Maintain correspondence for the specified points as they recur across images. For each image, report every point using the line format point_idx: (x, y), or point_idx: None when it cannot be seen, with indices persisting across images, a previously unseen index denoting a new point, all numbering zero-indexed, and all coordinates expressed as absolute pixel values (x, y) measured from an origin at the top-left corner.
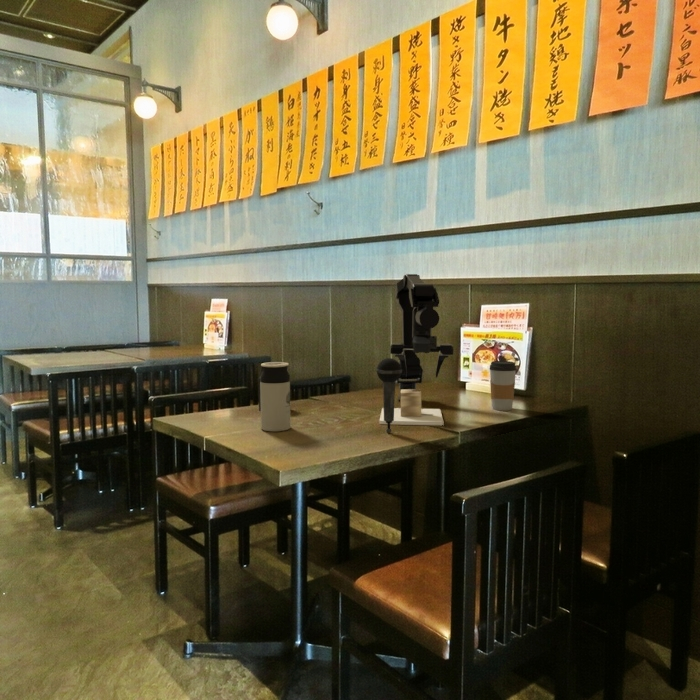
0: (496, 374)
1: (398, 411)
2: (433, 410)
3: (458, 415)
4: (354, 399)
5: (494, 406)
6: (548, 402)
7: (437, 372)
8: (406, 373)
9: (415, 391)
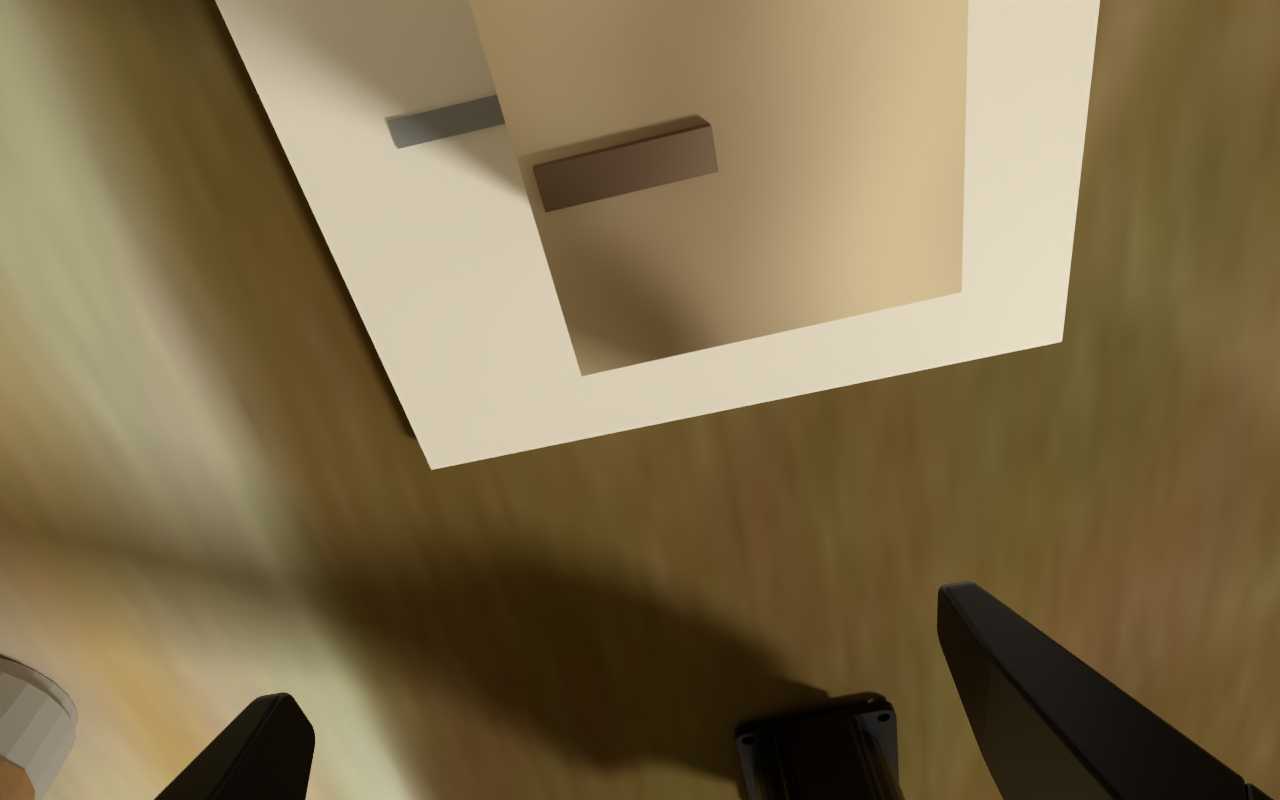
0: None
1: None
2: (474, 384)
3: (202, 368)
4: (1262, 676)
5: (2, 686)
6: None
7: (187, 793)
8: (978, 632)
9: (629, 103)
